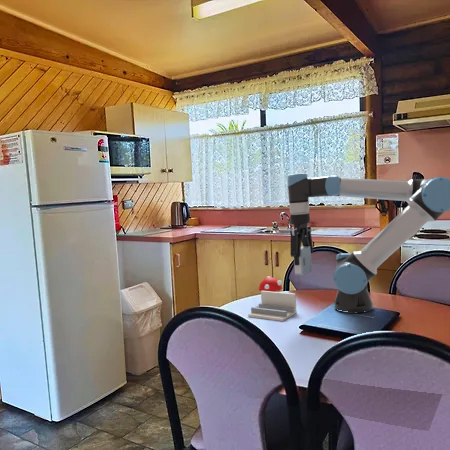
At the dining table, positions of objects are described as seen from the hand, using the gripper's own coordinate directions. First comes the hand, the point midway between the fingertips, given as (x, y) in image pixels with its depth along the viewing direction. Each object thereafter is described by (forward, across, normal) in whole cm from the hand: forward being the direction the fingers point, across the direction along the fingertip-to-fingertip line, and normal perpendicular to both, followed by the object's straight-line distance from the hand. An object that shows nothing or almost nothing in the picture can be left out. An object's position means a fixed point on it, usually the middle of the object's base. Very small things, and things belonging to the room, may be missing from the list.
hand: (303, 271), depth 164 cm
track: (+19, +2, -14) cm, 23 cm away
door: (+1, 0, 0) cm, 1 cm away
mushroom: (+19, -13, -23) cm, 33 cm away
